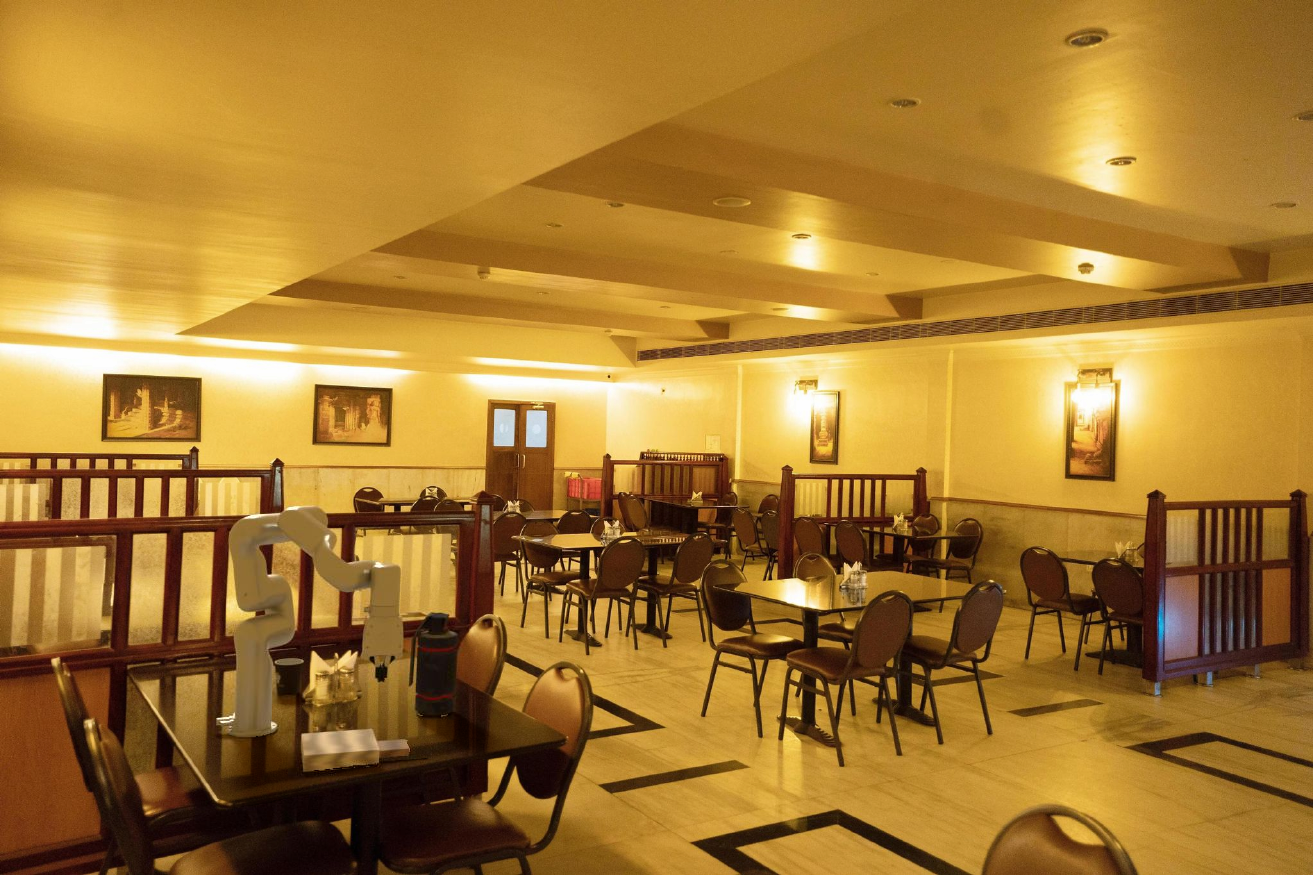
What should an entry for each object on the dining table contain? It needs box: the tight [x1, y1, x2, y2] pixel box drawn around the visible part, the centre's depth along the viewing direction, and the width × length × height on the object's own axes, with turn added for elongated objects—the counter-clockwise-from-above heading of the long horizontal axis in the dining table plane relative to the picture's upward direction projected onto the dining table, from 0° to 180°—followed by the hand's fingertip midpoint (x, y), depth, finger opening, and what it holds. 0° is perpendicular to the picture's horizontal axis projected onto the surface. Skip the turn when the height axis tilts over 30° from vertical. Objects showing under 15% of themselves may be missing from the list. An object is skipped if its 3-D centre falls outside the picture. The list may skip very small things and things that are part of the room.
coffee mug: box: [274, 658, 305, 696], centre depth 308 cm, size 12×9×10 cm
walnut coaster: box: [376, 738, 410, 758], centre depth 253 cm, size 8×8×2 cm
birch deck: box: [300, 728, 380, 773], centre depth 249 cm, size 18×18×4 cm
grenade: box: [408, 611, 459, 716], centre depth 292 cm, size 14×12×30 cm
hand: (380, 680), depth 253 cm, fingers closed
